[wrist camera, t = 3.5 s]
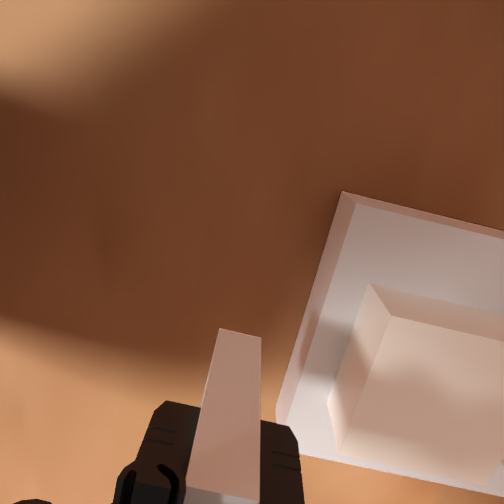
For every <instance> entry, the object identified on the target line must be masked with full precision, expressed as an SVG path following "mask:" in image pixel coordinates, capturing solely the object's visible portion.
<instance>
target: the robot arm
mask: <svg viewBox="0 0 504 504" xmlns="http://www.w3.org/2000/svg"><path fill="white" fill-rule="evenodd" d="M260 413H261V337H257V336H253V335H248V334H244V333H240V332H235V331H231V330H227V329H222V328H219V331H218V335H217V340H216V344H215V348H214V352H213V356H212V360H211V364H210V369H209V373H208V377H207V381H206V385H205V389H204V393H203V398H202V402H201V407H200V408H199V407H194V406H190V405H185V404H181V403H176V402H172V401H167V400H166V401H165V402H164V403H163V404H162V405H160V406H159V407H158V408H157V409H156V410H155V411H154V413H153V415H152V418H151V421H150V423H149V426H148V428H147V431H146V434H145V436H144V439H143V441H142V444H141V447H140V449H139V452H138V454H137V457H136V459H135V461H134V462H132V463H131V464H129V465H128V466H126V467H125V468H124V469H123V470H122V472H121V473H120V475H119V476H118V478H117V483H116V488H115V494H114V499H113V503H111V504H305V502H304V493H303V483H302V474H301V465H300V460H299V457H300V456H299V447H298V441H297V439H296V437H295V435H294V434H293V432H292V430H291V428H290V427H289V426H286V425H281V424H277V423H272V422H268V421H263V420H260ZM14 504H52V503H51V502H47V501H43V500H39V499H31V500H22V501H19V502H17V503H14Z"/></svg>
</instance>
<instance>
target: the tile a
mask: <svg viewBox="0 0 504 504" xmlns="http://www.w3.org/2000/svg"><path fill="white" fill-rule="evenodd" d="M327 407H328V411H329V416H330V420H331V424H332V429H333V433H334V437H335V442H336V446H337V450H338V454H339V455H343V456H348V457H353V458H357V459H362V460H367V461H371V462H376V463H381V464H385V465H390V466H395V467H399V468H404V469H409V470H413V471H418V472H423V473H427V474H432V475H437V476H441V477H446V478H451V479H455V480H460V481H465V482H469V483H474V484H479V485H483V486H488V484H489V482H490V480H491V479H492V477H493V475H494V473H495V471H496V469H497V467H498V465H499V463H500V462H501V460H502V458H503V456H504V315H503V314H499V313H495V312H491V311H486V310H482V309H478V308H474V307H470V306H465V305H461V304H457V303H453V302H448V301H444V300H440V299H436V298H431V297H427V296H423V295H419V294H415V293H410V292H406V291H402V290H398V289H393V288H389V287H385V286H381V285H376V284H372V283H369V284H368V287H367V290H366V293H365V296H364V298H363V301H362V304H361V307H360V310H359V313H358V315H357V318H356V321H355V324H354V327H353V330H352V333H351V335H350V338H349V341H348V344H347V347H346V350H345V353H344V355H343V358H342V361H341V364H340V367H339V370H338V372H337V375H336V378H335V381H334V384H333V387H332V390H331V392H330V395H329V398H328V401H327Z"/></svg>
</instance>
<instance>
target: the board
mask: <svg viewBox="0 0 504 504" xmlns="http://www.w3.org/2000/svg"><path fill="white" fill-rule="evenodd" d="M369 283H372V284H376V285H381V286H385V287H389V288H393V289H398V290H402V291H406V292H410V293H415V294H419V295H423V296H427V297H431V298H436V299H440V300H444V301H448V302H453V303H457V304H461V305H465V306H470V307H474V308H478V309H482V310H486V311H491V312H495V313H499V314H503V315H504V231H502V230H498V229H494V228H490V227H486V226H482V225H478V224H473V223H469V222H465V221H461V220H457V219H453V218H449V217H445V216H441V215H437V214H433V213H429V212H425V211H421V210H417V209H413V208H409V207H405V206H401V205H397V204H393V203H388V202H384V201H380V200H376V199H372V198H368V197H364V196H360V195H356V194H352V193H348V192H344V191H342V192H341V195H340V199H339V202H338V205H337V208H336V212H335V215H334V218H333V221H332V225H331V228H330V231H329V234H328V238H327V241H326V244H325V247H324V251H323V254H322V257H321V260H320V264H319V267H318V270H317V273H316V277H315V280H314V283H313V286H312V290H311V293H310V296H309V299H308V303H307V306H306V309H305V312H304V316H303V319H302V322H301V326H300V329H299V332H298V335H297V339H296V342H295V345H294V348H293V352H292V355H291V358H290V361H289V365H288V368H287V371H286V374H285V378H284V381H283V384H282V387H281V391H280V394H279V397H278V400H277V404H276V407H275V409H276V423H277V424H281V425H286V426H289V427H290V428H291V430H292V432H293V434H294V435H295V437H296V439H297V441H298V447H299V454H304V455H308V456H313V457H318V458H322V459H327V460H332V461H336V462H341V463H346V464H350V465H355V466H360V467H364V468H369V469H374V470H379V471H383V472H388V473H393V474H397V475H402V476H407V477H411V478H416V479H421V480H425V481H430V482H435V483H440V484H444V485H449V486H454V487H458V488H463V489H468V490H472V491H477V492H482V493H486V494H491V495H496V496H500V497H504V466H503V464H502V463H501V462H500V463H499V465H498V467H497V469H496V471H495V473H494V475H493V477H492V479H491V480H490V482H489V484H488V486H483V485H479V484H474V483H469V482H465V481H460V480H455V479H451V478H446V477H441V476H437V475H432V474H427V473H423V472H418V471H413V470H409V469H404V468H399V467H395V466H390V465H385V464H381V463H376V462H371V461H367V460H362V459H357V458H353V457H348V456H343V455H339V454H338V450H337V446H336V442H335V437H334V433H333V429H332V424H331V420H330V416H329V411H328V407H327V401H328V398H329V395H330V392H331V390H332V387H333V384H334V381H335V378H336V375H337V372H338V370H339V367H340V364H341V361H342V358H343V355H344V353H345V350H346V347H347V344H348V341H349V338H350V335H351V333H352V330H353V327H354V324H355V321H356V318H357V315H358V313H359V310H360V307H361V304H362V301H363V298H364V296H365V293H366V290H367V287H368V284H369Z"/></svg>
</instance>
